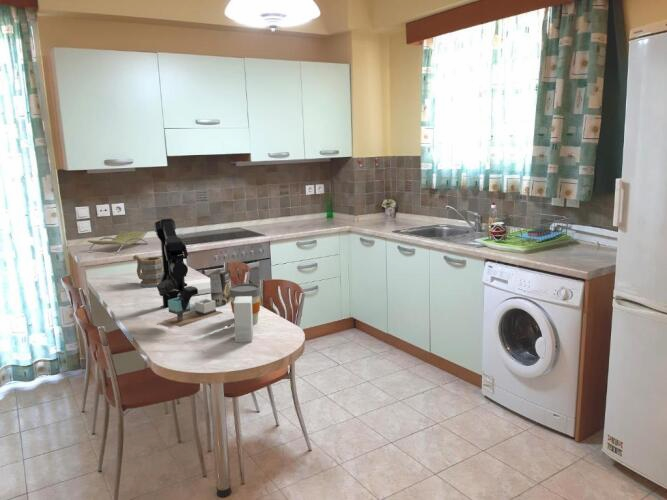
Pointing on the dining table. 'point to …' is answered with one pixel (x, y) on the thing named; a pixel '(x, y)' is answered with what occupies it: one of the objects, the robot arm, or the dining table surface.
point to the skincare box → (243, 319)
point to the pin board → (189, 318)
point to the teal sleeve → (177, 306)
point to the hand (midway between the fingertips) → (179, 309)
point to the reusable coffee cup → (247, 291)
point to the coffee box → (220, 286)
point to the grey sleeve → (205, 307)
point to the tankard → (149, 270)
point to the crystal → (200, 285)
